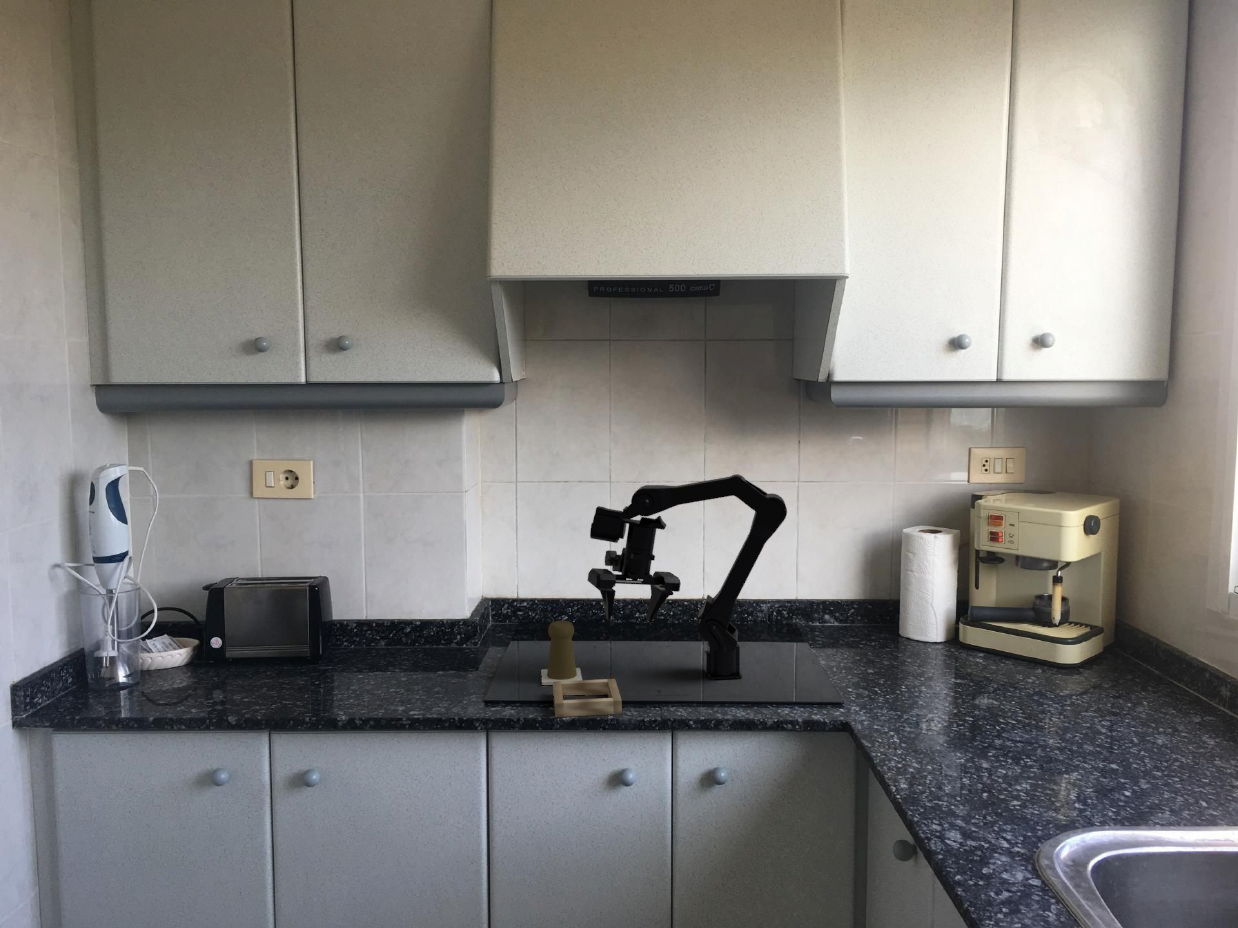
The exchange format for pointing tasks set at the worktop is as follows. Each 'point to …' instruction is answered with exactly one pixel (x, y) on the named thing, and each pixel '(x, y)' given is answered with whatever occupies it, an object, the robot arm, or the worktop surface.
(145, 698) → the worktop surface
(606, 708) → the oak collar
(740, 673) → the robot arm
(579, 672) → the cream tile
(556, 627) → the olive knobbed peg
